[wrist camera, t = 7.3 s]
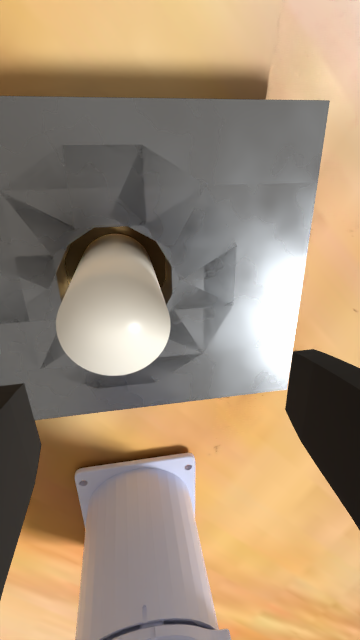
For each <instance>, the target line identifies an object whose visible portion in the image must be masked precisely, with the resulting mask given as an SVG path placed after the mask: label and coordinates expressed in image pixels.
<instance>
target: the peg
mask: <svg viewBox="0 0 360 640" xmlns="http://www.w3.org/2000/svg"><path fill="white" fill-rule="evenodd" d="M170 327H171V325H170V316H169V312H168V309H167V306H166V303H165V300H164V297H163V294H162V292H161V289H160V286H159V283H158V280H157V277H156V274H155V271H154V268H153V265H152V263H151V260H150V257H149V255H148V253H147V251H146V249H145V248H144V247H143V246H142V245H141V244H140V243H139V242H138V241H136V240H135V239H133V238H131V237H129V236H126V235H122V234H108V235H104V236H101V237H99V238H97V239H96V240H94V241H93V242H92V243H91V244H89V246H88V247H87V248H86V250H85V251H84V253H83V255H82V258H81V260H80V262H79V264H78V267H77V269H76V271H75V273H74V276H73V278H72V280H71V282H70V285H69V287H68V289H67V291H66V294H65V296H64V298H63V300H62V303H61V305H60V307H59V310H58V313H57V318H56V332H57V336H58V339H59V342H60V345H61V346H62V348H63V350H64V351H65V353H66V354H67V355H68V356H69V357H70V359H71V360H72V361H74V362H75V363H76V364H77V365H79V366H81V367H82V368H84V369H86V370H88V371H91V372H94V373H97V374H101V375H109V376H118V375H126V374H130V373H133V372H136V371H139V370H141V369H143V368H145V367H146V366H148V365H149V364H151V363H152V362H153V361H154V360H155V359H156V358H157V357H158V356H159V355H160V354H161V352H162V351H163V349H164V348H165V346H166V344H167V341H168V338H169V334H170Z"/></svg>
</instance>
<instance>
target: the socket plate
mask: <svg viewBox="0 0 360 640" xmlns="http://www.w3.org/2000/svg"><path fill="white" fill-rule="evenodd" d="M329 102H330V101H325V100H253V99H180V98H108V97H35V96H0V386H5V385H13V384H22V383H24V384H25V388H26V392H27V395H28V399H29V402H30V406H31V410H32V413H33V417H34V420H40V419H48V418H57V417H65V416H73V415H81V414H89V413H98V412H106V411H114V410H122V409H130V408H139V407H147V406H155V405H163V404H171V403H180V402H188V401H196V400H204V399H212V398H221V397H229V396H237V395H245V394H253V393H262V392H270V391H278V390H286V389H287V385H288V378H289V372H290V365H291V358H292V351H293V345H294V338H295V331H296V324H297V318H298V311H299V304H300V297H301V291H302V284H303V277H304V270H305V264H306V257H307V250H308V243H309V237H310V230H311V223H312V216H313V210H314V203H315V196H316V189H317V183H318V176H319V169H320V162H321V156H322V149H323V142H324V135H325V129H326V122H327V115H328V108H329ZM118 226H128V227H130V228H132V229H134V230H136V231H138V232H139V233H141V234H143V235H145V236H147V237H149V238H151V239H153V240H155V241H156V242H157V244H158V245H159V247H160V249H161V250H162V252H163V253H164V255H165V268H166V280H165V281H164V283H163V285H162V287H161V292H162V294H163V297H164V300H165V303H166V306H167V309H168V312H169V316H170V325H171V327H170V334H169V338H168V341H167V344H166V346H165V348H164V349H163V351H162V352H161V354H160V355H159V356H158V357H157V358H156V359H155V360H154V361H153V362H152V363H151V364H149V365H148V366H146V367H145V368H143V369H141V370H139V371H136V372H133V373H130V374H126V375H118V376H109V375H101V374H97V373H94V372H91V371H88V370H86V369H84V368H82V367H81V366H79V365H77V364H76V363H75V362H74V361H72V360H71V359H70V357H69V356H68V355H67V354H66V353H65V351H64V350H63V348H62V346H61V345H60V342H59V339H58V336H57V332H56V318H57V313H58V310H59V307H60V305H61V303H62V300H63V298H64V296H65V294H66V291H67V289H68V287H69V285H68V279H67V273H66V267H65V261H64V259H65V257H66V254H67V252H68V250H69V247H70V245H71V243H72V242H73V241H75V240H76V239H78V238H79V237H81V236H82V235H84V234H85V233H87V232H88V231H90V230H91V229H93V228H94V227H118Z"/></svg>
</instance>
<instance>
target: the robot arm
mask: <svg viewBox="0 0 360 640" xmlns="http://www.w3.org/2000/svg"><path fill="white" fill-rule="evenodd" d="M285 410H286V412H287V414H288V416H289V418H290V421H291V423H292V425H293V427H294V429H295V431H296V433H297V435H298V437H299V439H300V440H301V442H302V444H303V445H304V447H305V448H306V450H307V451H308V453H309V455H310V456H311V458H312V459H313V461H314V462H315V464H316V465H317V467H318V468H319V470H320V471H321V473H322V474H323V476H324V477H325V478H326V480H327V481H328V483H329V484H330V486H331V487H332V489H333V490H334V492H335V493H336V495H337V496H338V498H339V499H340V501H341V502H342V504H343V505H344V507H345V508H346V510H347V511H348V513H349V514H350V516H351V517H352V519H353V520H354V522H355V524H356V525H357V527H358V528H359V530H360V368H358V367H356V366H353V365H351V364H349V363H347V362H344V361H342V360H340V359H337V358H335V357H333V356H330V355H328V354H325V353H323V352H320V351H317V350H314V349H311V350H303V351H294V352H293V355H292V363H291V370H290V378H289V386H288V393H287V401H286V408H285ZM40 449H41V442H40V439H39V435H38V431H37V428H36V424H35V420H34V417H33V413H32V410H31V406H30V402H29V399H28V395H27V392H26V388H25V384H24V383H22V384H13V385H5V386H0V600H1V596H2V592H3V588H4V585H5V581H6V578H7V575H8V571H9V568H10V565H11V562H12V558H13V555H14V552H15V548H16V545H17V542H18V538H19V535H20V532H21V528H22V525H23V522H24V519H25V515H26V512H27V508H28V505H29V502H30V498H31V495H32V491H33V488H34V484H35V479H36V474H37V468H38V462H39V455H40ZM186 465H187V466H186ZM83 480H85V481H83ZM75 483H76V488H77V492H78V497H79V502H80V506H81V511H82V516H83V520H84V525H85V541H84V552H83V563H82V573H81V584H80V595H79V605H78V616H77V627H76V637H75V640H231V637H230V633H229V630H228V629H221V630H219V628H218V623H217V618H216V614H215V609H214V604H213V600H212V595H211V591H210V586H209V581H208V577H207V572H206V568H205V563H204V558H203V554H202V549H201V544H200V540H199V535H198V531H197V526H196V521H195V458H194V455H193V454H192V453H182V454H175V455H168V456H161V457H154V458H147V459H140V460H134V461H127V462H120V463H113V464H106V465H99V466H92V467H85V468H80V469H78V470H77V471H76V472H75Z"/></svg>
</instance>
